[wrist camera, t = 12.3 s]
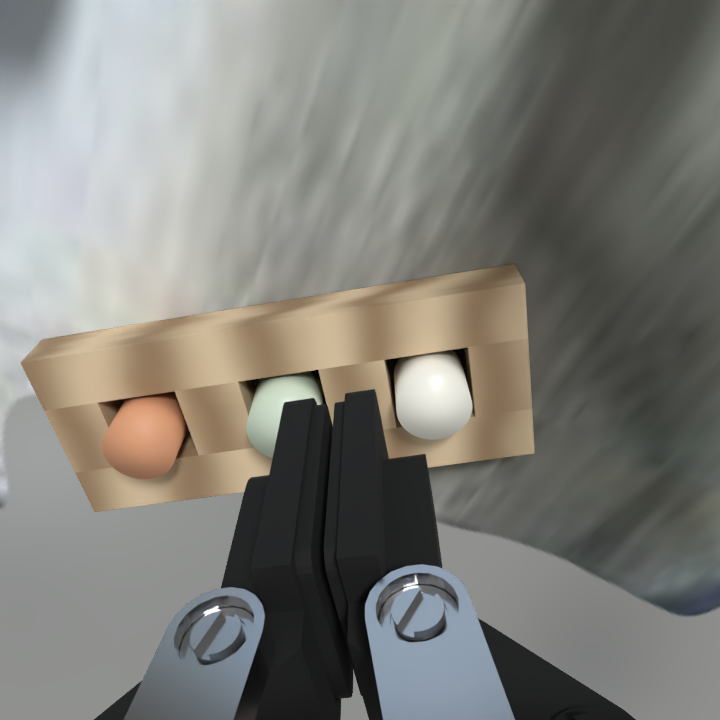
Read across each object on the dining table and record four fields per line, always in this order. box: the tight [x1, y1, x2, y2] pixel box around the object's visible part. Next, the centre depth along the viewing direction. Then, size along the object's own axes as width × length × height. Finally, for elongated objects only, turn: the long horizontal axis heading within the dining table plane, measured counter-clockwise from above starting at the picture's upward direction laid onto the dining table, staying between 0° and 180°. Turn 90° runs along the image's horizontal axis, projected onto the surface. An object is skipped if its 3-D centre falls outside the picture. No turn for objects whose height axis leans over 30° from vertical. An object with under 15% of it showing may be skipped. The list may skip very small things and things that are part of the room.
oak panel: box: [21, 264, 535, 512], centre depth 42 cm, size 30×12×3 cm, turn 100°
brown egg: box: [102, 391, 188, 479], centre depth 41 cm, size 4×4×4 cm
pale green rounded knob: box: [246, 371, 324, 458], centre depth 40 cm, size 4×4×4 cm
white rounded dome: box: [394, 350, 472, 440], centre depth 39 cm, size 4×4×4 cm
